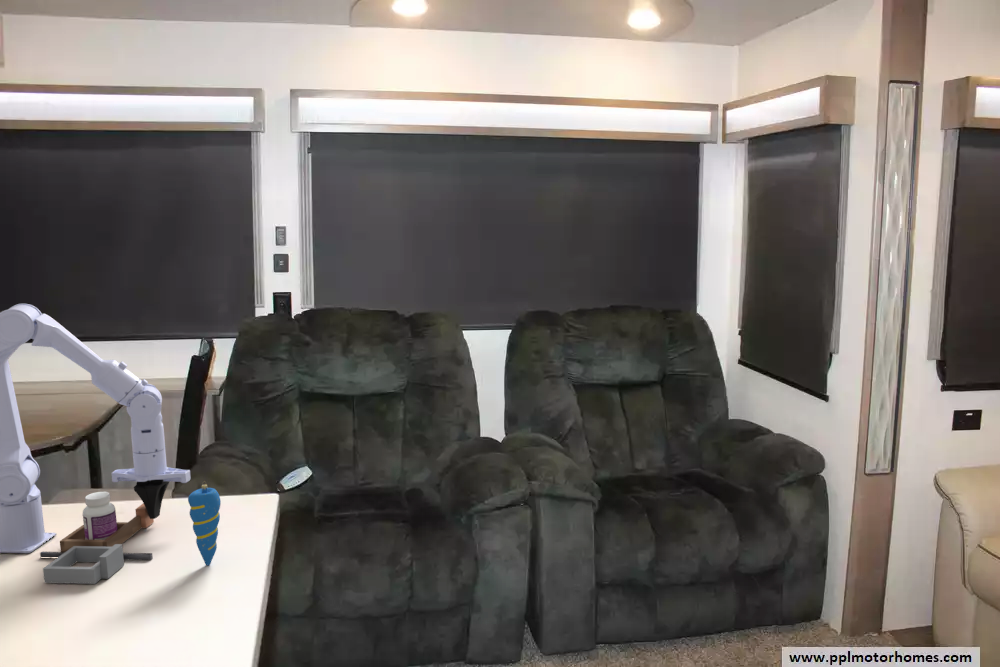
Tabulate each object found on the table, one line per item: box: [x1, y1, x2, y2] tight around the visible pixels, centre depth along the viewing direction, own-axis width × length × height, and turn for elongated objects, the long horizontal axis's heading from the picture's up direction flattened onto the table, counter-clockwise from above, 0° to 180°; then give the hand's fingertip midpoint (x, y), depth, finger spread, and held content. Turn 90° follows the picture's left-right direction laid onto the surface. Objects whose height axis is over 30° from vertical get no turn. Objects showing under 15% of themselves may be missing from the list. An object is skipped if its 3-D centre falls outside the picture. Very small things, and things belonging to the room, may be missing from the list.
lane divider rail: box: [39, 551, 153, 561], centre depth 138 cm, size 20×1×1 cm, turn 87°
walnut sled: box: [59, 502, 155, 552], centre depth 146 cm, size 10×15×4 cm, turn 177°
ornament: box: [187, 480, 221, 566], centre depth 134 cm, size 5×5×15 cm
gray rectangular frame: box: [42, 543, 125, 585], centre depth 132 cm, size 10×9×4 cm
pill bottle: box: [82, 491, 118, 540], centre depth 142 cm, size 5×5×10 cm
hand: (154, 516), depth 151 cm, fingers closed
